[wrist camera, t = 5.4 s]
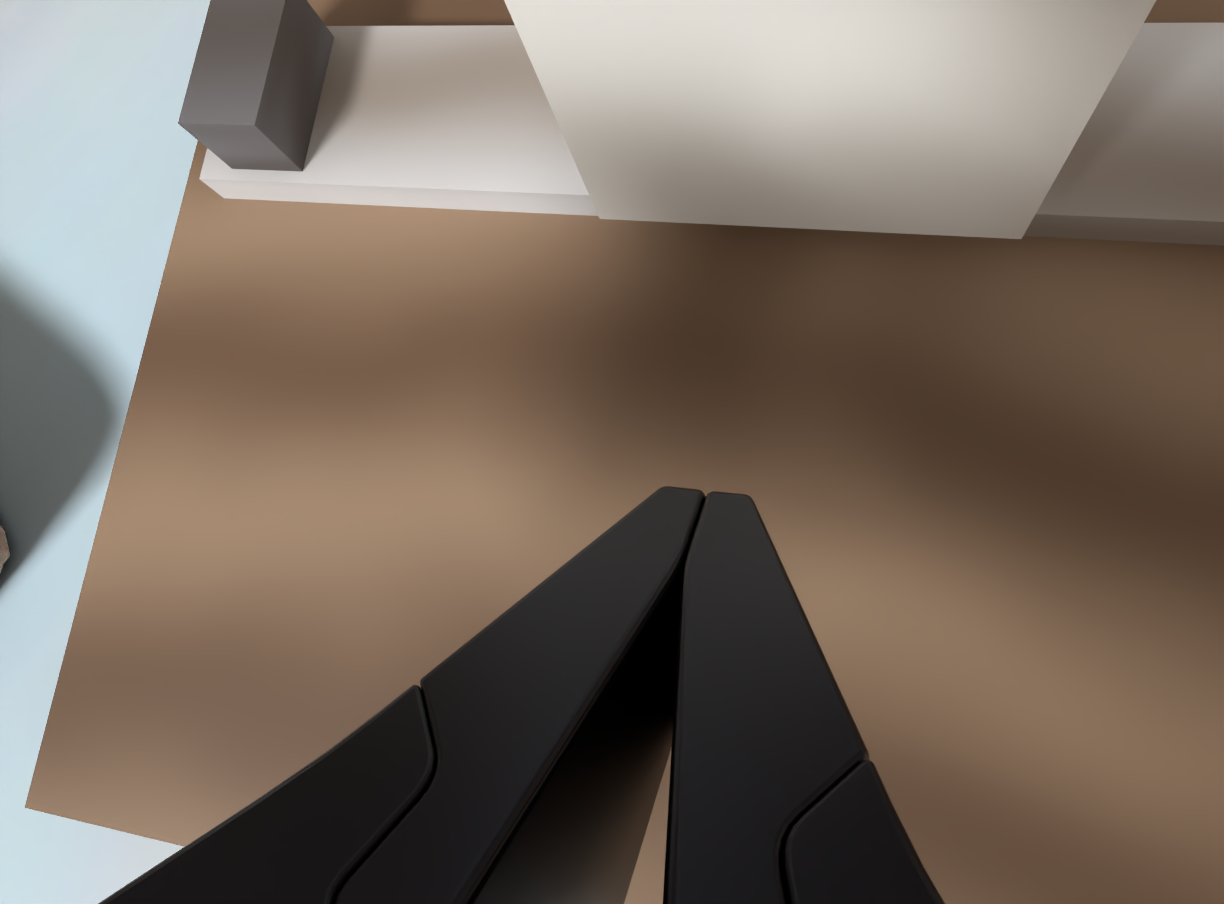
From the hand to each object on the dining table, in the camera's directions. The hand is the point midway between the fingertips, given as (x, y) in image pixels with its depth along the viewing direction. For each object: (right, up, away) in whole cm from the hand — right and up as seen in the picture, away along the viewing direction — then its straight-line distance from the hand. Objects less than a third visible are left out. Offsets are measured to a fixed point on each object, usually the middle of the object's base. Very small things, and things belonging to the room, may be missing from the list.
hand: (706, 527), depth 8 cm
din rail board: (+2, +1, +8) cm, 8 cm away
